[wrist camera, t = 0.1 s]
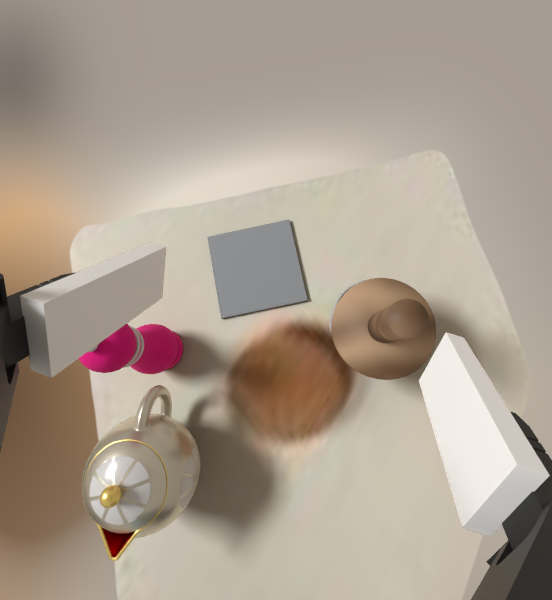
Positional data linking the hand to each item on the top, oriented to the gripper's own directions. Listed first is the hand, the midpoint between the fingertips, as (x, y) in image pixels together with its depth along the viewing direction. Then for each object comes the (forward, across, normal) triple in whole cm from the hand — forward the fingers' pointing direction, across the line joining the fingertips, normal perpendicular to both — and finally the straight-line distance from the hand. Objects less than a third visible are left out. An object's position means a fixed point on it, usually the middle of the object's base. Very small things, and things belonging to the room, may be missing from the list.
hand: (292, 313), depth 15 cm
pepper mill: (+26, +19, +27) cm, 42 cm away
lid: (+26, -11, +12) cm, 30 cm away
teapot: (+18, +13, +37) cm, 43 cm away
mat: (+35, +9, +12) cm, 38 cm away
